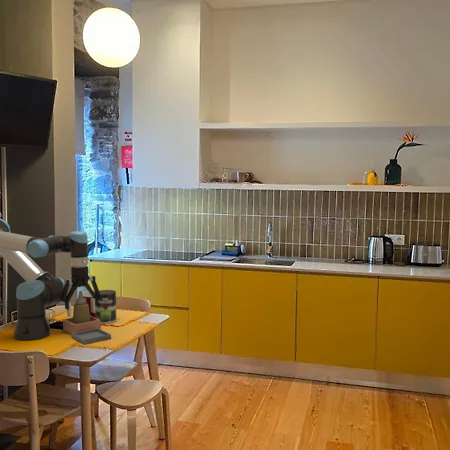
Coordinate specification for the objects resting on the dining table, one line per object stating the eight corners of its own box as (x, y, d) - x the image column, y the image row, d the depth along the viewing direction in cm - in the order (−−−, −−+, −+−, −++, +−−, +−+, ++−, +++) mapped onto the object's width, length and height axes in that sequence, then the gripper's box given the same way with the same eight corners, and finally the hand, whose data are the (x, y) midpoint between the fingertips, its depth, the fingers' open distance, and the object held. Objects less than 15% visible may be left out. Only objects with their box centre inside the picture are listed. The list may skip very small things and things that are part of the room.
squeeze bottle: (71, 329, 254) (70, 290, 252) (89, 327, 257) (88, 288, 255) (73, 333, 247) (72, 294, 245) (92, 331, 250) (91, 292, 248)
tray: (84, 344, 231) (84, 339, 231) (72, 337, 241) (72, 333, 240) (111, 338, 239) (110, 334, 239) (98, 332, 248) (98, 328, 248)
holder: (74, 336, 243) (74, 324, 243) (63, 330, 253) (62, 319, 252) (100, 330, 251) (100, 320, 250) (88, 325, 261) (88, 314, 260)
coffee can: (117, 322, 264) (116, 293, 263) (94, 324, 262) (93, 294, 261) (116, 317, 274) (115, 289, 273) (95, 318, 272) (94, 290, 271)
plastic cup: (81, 319, 270) (81, 295, 269) (81, 314, 280) (80, 290, 279) (104, 318, 273) (104, 294, 272) (103, 312, 283) (102, 289, 282)
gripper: (58, 270, 239) (59, 320, 241) (107, 264, 253) (108, 311, 255) (51, 268, 245) (53, 317, 247) (99, 262, 259) (101, 308, 261)
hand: (81, 314), depth 251 cm, fingers open, 11 cm apart
